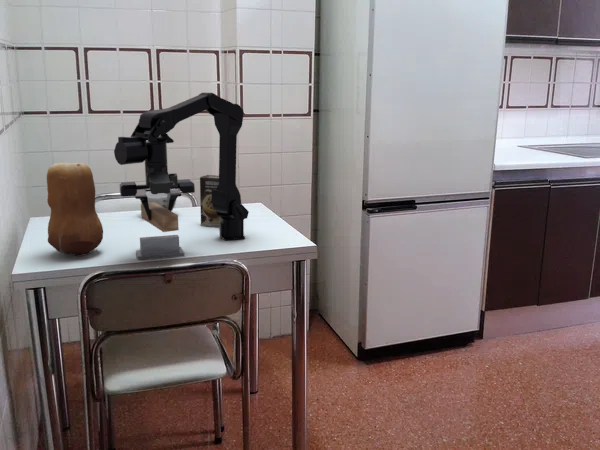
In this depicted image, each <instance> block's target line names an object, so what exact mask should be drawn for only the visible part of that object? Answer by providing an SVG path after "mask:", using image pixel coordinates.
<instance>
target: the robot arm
mask: <svg viewBox="0 0 600 450" xmlns="http://www.w3.org/2000/svg"><path fill="white" fill-rule="evenodd" d="M204 111H206V112H207V113H208V114H209V115H211V116H212V117H213V119H214V120H213V121H214V126H215V128H216V130H217V132H218V135H219V136H218V137H219V140H218V141H219V146H218V148H219V149H218V151H219V153H218V158H219V159H218V176H219V184H218V186H217V188H216V190H213V189H212V191H211V195H212V199H211V203H212V205H213V208H214V209H215V211H216V214H217V216H220V217H221V222H219V227H218V228H219V229H218V231H219V236H220V237H221V238H222V240H224V241H232V240H233V241H235V240H243V239H246V236H245V235H244V233H245V232H244V226H245V223H244V221H245V219H246V220H247V219H248V217H249V213H250V212H249V210H248V209H247V208H246V207H245V206H244V205H243V204H242V198H241V196H242V195H241V193H240V190H239V189H238V187H237V179H236V178H237V140H238V138H237V136H238V134H239V132H240V130H241V129H242V127H243V121H244V115H245V114H244V109H243V108H242V107H241V106H240V104H237V103H233V102H231V101H229V100H227V99H225V98H222V97H220V96H218V95H217V94H215V93H214V92H201V93H199V94H198V95H196V96H193V97H191V98H189V99H186V100H185V101H181V102H179V103H176V104H175V105H174V104H173V105H172V106H170V107H166V108H161V109H154V110H153V109H152V110H149V111H145V112H141V114H140V116H139V119H138V123H137V125H136V126H135V128H134V130H133V132H132V133H131V135H130V136H118V137H117V140H118V141H117V142H116V144H115V146H114V150H113V153H114V158H115V160H116V162H117V164H119V165H121V166H125V165H132V164H141V163H144V172H145V174H144V175H145V184H137V183H136V181H126V182H123V181H122V182H121V183H120V184H119V194H120V196H121V197H134V198H135V199H136V200H137V199H138V200H140V203H141V202H142V203H141V204H143V206H144V209H145V211H146V214H147V216H148V219H149V221H150V220H151V216H150V210H149V204H148V197H147V195H146V192H151V193H152V194H159V193H165V194H167V209H168V210H170V211H172V212H173V210H172V207H173V205H174V202H175V200H176V201H177V198H178V197H181V196H182V194H190V193H191V194H193V193H195V192H196V188H195V183H194V182H193V181H191V179H178V173H175V172H174V173H169V172H168V171H169V170H168V169H169V167H168V151H167V150H168V149H167V148H168V147H167V144H171V143H172V144H173V143H175V140H174V139H173V138H171V137H170V136H169V134H168V133H169V132H171V131H172V130H173V129H174V128H175V127H176V125H177V124H179V123H180V122H182V121H184V120H186V119H189V118H191V117H193V116H195V115H198V114H200V113H202V112H204Z"/></svg>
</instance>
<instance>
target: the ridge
mask: <svg viewBox="0 0 600 450" xmlns="http://www.w3.org/2000/svg"><path fill="white" fill-rule="evenodd" d="M139 246H140V247H139V248H140V249H139V250H138V249H137V250H135V253H136V256H137V260H138V261H146V260H148V261H149V260H158V259H167V258H177V257H185V251H184V250H183V247H182V246H180V236H179V235H178V234H171V235H170V234H169V235H156V236H142V237H139Z"/></svg>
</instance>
